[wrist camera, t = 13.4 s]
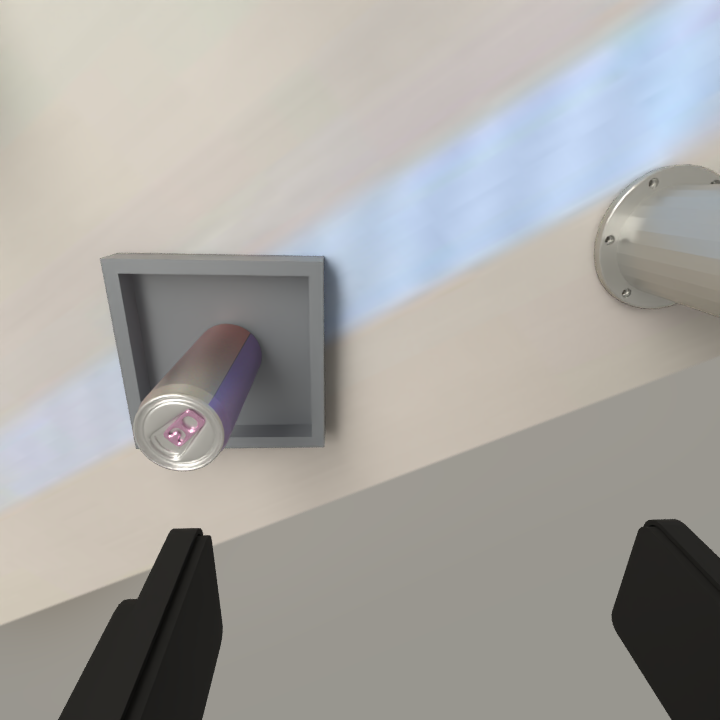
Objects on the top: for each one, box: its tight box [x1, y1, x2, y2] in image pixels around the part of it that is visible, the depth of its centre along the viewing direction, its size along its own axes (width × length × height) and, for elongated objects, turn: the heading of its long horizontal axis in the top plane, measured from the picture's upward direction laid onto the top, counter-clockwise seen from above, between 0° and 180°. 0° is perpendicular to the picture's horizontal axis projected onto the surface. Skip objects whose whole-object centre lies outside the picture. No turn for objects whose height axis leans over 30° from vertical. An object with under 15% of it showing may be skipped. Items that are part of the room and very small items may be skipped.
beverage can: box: [133, 324, 262, 471], centre depth 35 cm, size 6×6×15 cm
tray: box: [100, 253, 325, 449], centre depth 41 cm, size 18×18×3 cm
